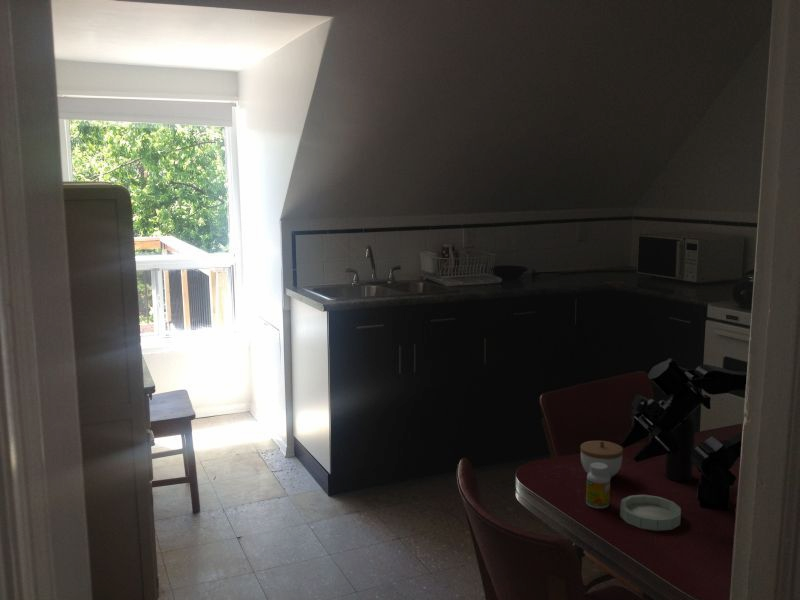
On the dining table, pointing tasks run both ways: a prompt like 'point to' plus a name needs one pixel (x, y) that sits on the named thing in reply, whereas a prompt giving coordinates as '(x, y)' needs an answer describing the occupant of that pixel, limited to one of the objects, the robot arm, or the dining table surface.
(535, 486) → the dining table surface
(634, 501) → the bowl
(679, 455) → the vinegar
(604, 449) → the lidded jar
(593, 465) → the supplement bottle
